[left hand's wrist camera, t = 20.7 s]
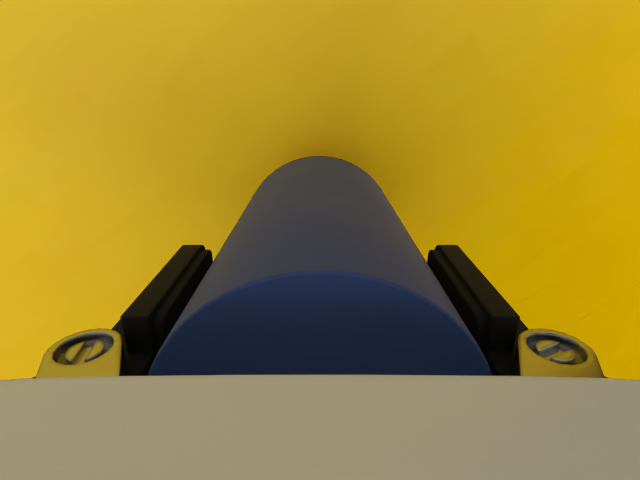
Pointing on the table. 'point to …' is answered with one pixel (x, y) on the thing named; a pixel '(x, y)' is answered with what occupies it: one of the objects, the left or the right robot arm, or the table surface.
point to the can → (319, 289)
